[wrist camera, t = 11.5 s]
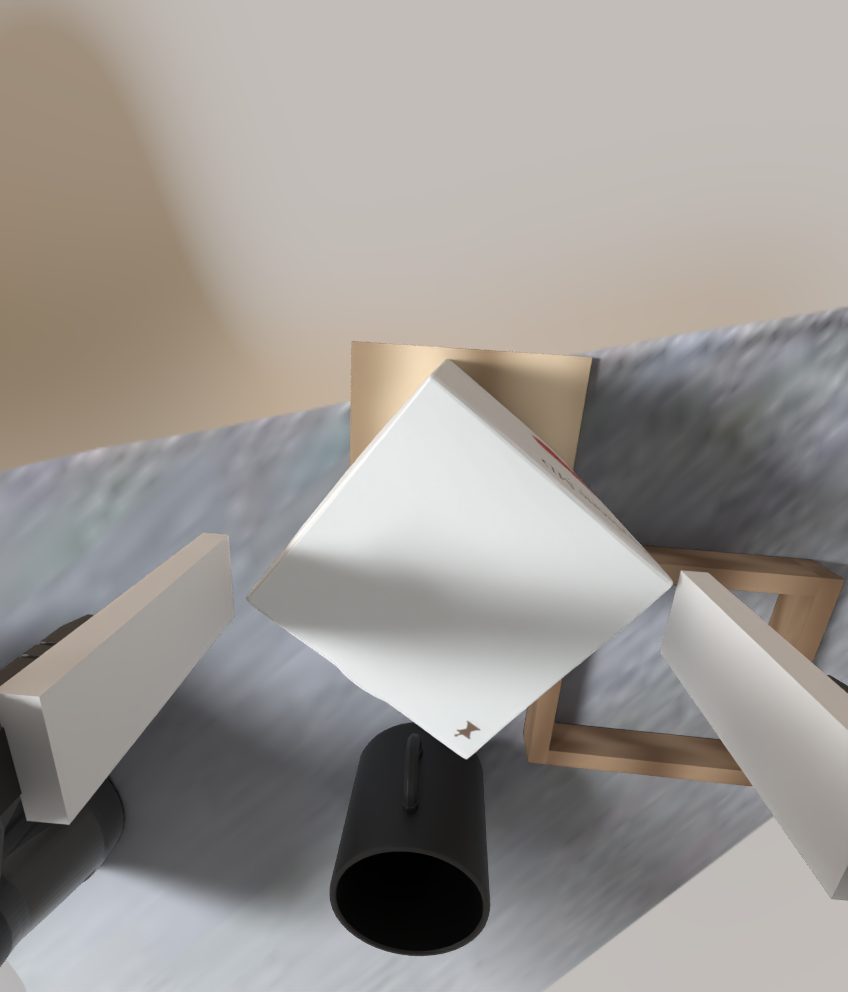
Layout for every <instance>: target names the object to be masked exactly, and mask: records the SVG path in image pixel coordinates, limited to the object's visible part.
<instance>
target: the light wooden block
mask: <svg viewBox="0 0 848 992" xmlns="http://www.w3.org/2000/svg"><path fill="white" fill-rule="evenodd" d="M446 359H449V360H451V361H452V362H453V363H455V364H456V365H457V366H458V367H459V368H460V369H462V370H463V371H464V372H465V373H466V374H467V375H469V376H470V377H471V378H472V379H473V380H474V381H475V382H477V383H478V384H479V385H480V386H481V387H482V388H483V389H485V390H486V391H487V392H488V393H489V394H490V395H492V396H493V397H494V398H495V399H496V400H497V401H498V402H500V403H501V404H502V405H503V406H504V407H505V408H507V409H508V410H509V411H510V412H511V413H512V414H513V415H515V416H516V417H517V418H518V419H519V420H520V421H521V422H523V423H524V424H525V425H526V426H527V427H528V428H529V429H531V430H532V431H533V432H534V433H535V434H536V435H537V436H538V437H539V438H540V439H542V440H543V441H544V442H545V443H546V444H547V445H548V446H549V447H550V448H551V449H552V450H554V451H555V452H556V453H557V454H558V455H559V456H560V457H561V458H562V459H563V461H564V462H565V463H566V464H567V465H568V466H569V467H570V468H571V469H572V471H573V468H574V462H575V456H576V450H577V444H578V438H579V432H580V426H581V421H582V415H583V409H584V403H585V397H586V391H587V385H588V380H589V374H590V368H591V362H592V357H582V356H567V355H550V354H537V353H522V352H506V351H492V350H491V351H490V350H477V349H460V348H446V347H431V346H416V345H401V344H386V343H370V342H356V341H352V349H351V431H350V467H351V465H352V464H353V463H354V462H355V461H356V459H357V458H358V457H359V456H360V455H361V453H362V452H363V451H364V450H365V449H366V447H367V446H368V445H369V444H370V443H371V441H372V440H373V439H374V438H375V437H376V435H377V434H378V433H379V432H380V431H381V430H382V429H383V427H384V426H385V425H386V424H387V423H388V422H389V420H390V419H391V418H392V417H393V416H394V415H395V413H396V412H397V411H398V410H399V409H400V408H401V407H402V405H403V404H404V403H405V402H406V401H407V400H408V399H409V397H410V396H411V395H412V394H413V393H414V392H415V391H416V390H417V388H418V387H419V386H420V385H421V384H422V383H423V382H424V381H425V380H426V378H427V377H428V376H429V375H430V374H431V373H432V372H433V371H434V370H435V369H436V368H437V367H439V365H440V364H441V363H442V362H443V361H444V360H446Z"/></svg>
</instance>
